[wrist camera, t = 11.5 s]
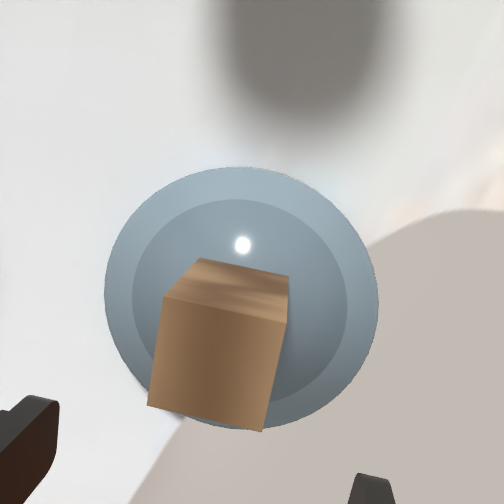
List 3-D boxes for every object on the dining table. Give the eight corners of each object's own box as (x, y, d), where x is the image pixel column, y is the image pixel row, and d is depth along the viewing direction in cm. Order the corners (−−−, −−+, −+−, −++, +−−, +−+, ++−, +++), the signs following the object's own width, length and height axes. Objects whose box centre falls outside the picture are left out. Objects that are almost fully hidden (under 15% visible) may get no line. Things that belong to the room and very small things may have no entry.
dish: (406, 197, 20) (413, 199, 19) (338, 440, 24) (340, 455, 22) (129, 142, 21) (119, 141, 20) (101, 385, 24) (91, 397, 23)
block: (288, 276, 20) (286, 323, 15) (270, 357, 22) (261, 432, 16) (199, 257, 21) (163, 296, 15) (186, 338, 22) (146, 405, 16)
